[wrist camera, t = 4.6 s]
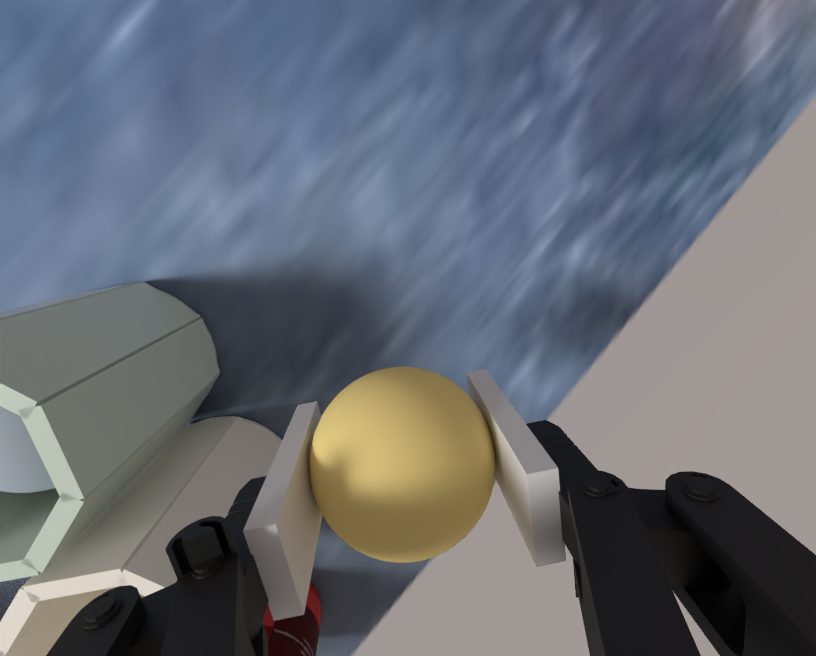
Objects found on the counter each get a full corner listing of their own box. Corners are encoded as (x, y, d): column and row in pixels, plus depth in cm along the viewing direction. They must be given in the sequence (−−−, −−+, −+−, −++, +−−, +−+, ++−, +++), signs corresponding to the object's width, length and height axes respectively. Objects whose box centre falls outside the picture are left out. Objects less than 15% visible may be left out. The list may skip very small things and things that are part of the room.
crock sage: (99, 432, 28) (-135, 607, 15) (42, 299, 25) (-296, 378, 13) (235, 407, 28) (113, 561, 15) (191, 272, 25) (2, 324, 13)
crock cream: (187, 539, 31) (50, 762, 18) (143, 429, 28) (-52, 600, 15) (311, 516, 31) (260, 723, 18) (279, 404, 28) (193, 554, 16)
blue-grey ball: (-23, 497, 18) (-10, 548, 15) (-88, 377, 17) (-94, 400, 13) (125, 431, 23) (164, 458, 19) (84, 331, 21) (118, 338, 17)
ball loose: (340, 492, 17) (321, 634, 11) (306, 360, 15) (263, 444, 9) (479, 465, 17) (533, 590, 11) (460, 331, 15) (511, 396, 10)
